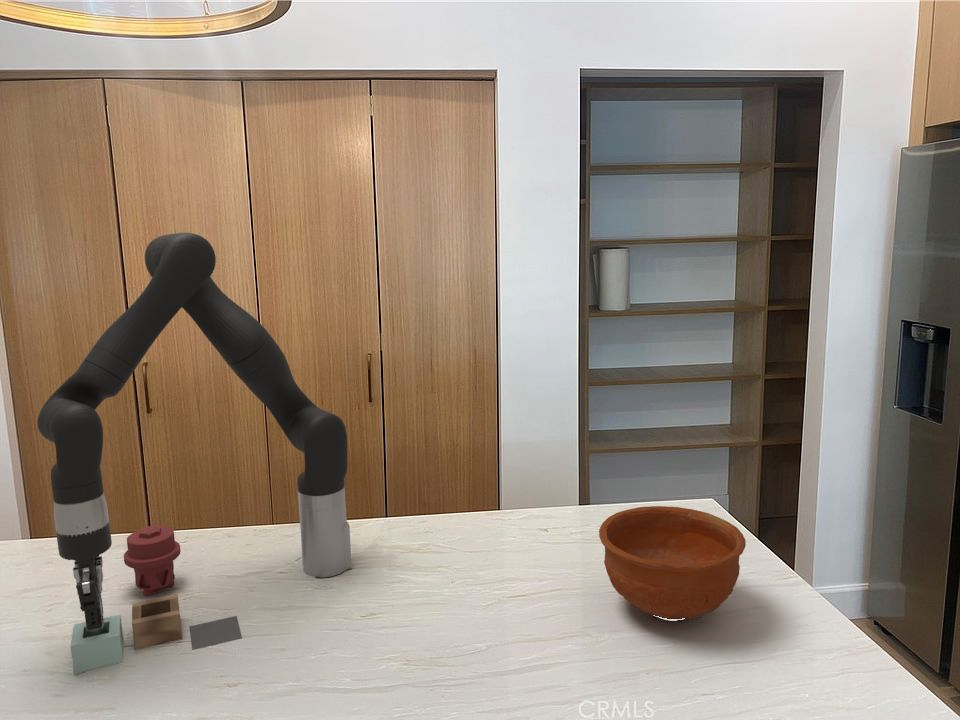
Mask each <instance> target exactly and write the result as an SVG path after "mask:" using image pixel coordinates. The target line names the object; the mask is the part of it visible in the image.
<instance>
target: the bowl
mask: <svg viewBox="0 0 960 720" xmlns="http://www.w3.org/2000/svg"><path fill="white" fill-rule="evenodd" d="M598 536H599V539H600V542H601V544H602V545H603V547H604V560H603V562H604V563H603V564H604V566H605V570H606V574H607V575H608V576H607V577H609V578H608V579H609V581H610V583H611V586H612V587H613V588H614V590H615V591H616V592H617V593H618V594H619V595H620V596H621V597H622V598H624V599H625V601H627V602H628V603H629V604H630V605H632V606H633V607H634V608H637V609H638V610H640V611H642V612H644V613H646V614H649V615H651V616H652V615H655V616H659V617H662V618H667V619H682V618H687V619H694V618H699V617H702V616H704V615H706V614H708V613H712V612H713V611H715V610H716V609H718V608H719V607H721V605H723V603H724V602H725V601H726V600H727V599H728V597H729V596H730V595H732V593H733V591H734V588H735V586H736V583H737V582H738V578H739V576H740V567H741V565H740V556H741V555H742V554H743V553H744V550H745V548H746V545H747V544H746V543H747V541H746V538H745V536H744V534H743V533H742V532H741V531H740V529H739V528H738V527H737V526H735V524H732V523H731V522H729V521H727V520H725V519H723V518H720V517H719V516H716V515H714V514H711V513H708V512H705V511H702V510H697V509H693V508H685V507H677V506H663V505H654V506H650V505H649V506H638V507H634V508H630V509H625V510H621V511H618V512H615V513H614V514H612V515H611V516H609V517H606V519H605V520H603V522H602V523H601V525H600V527H599V529H598ZM687 619H686V620H687Z"/></svg>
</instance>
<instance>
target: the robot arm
mask: <svg viewBox="0 0 960 720" xmlns="http://www.w3.org/2000/svg"><path fill="white" fill-rule="evenodd" d="M215 253H216V252H215V250H214V248H213V246H212V244H211V243H210V241H208V240H207V238H205V237H204V236H201V234H200V235H199V234H197V233H192V232H177V233H170V234H168V233H167V234H163V235H159V236H158V237H155V238H154V239H152V240H151V241H150V242H149V243H148V245H147V247H146V248H145V252H144V264H145V266H146V270H147V272H148V273H149V275H150V277H151V279H150V281H149V283H148V284H147V286H146V287H145V288H144V290H143V291H142V293H140V295H139V296H138V297H137V298H136V300H135V301H134V302H133V303H132V304H131V305H130V306H129V307H128V308H127V309H126V310H125V311H124V312H123V313H122V314H121V315H120V316H119V317H118V318H117V319H116V320H115V321H114V322H113V323H111V325H110V326H109V327H108V328H107V329H106V330H105V331H104V333H102V335H100V337H99V338H98V339H97V341H96V342H95V344H94V345H93V347H91V349H90V350H89V352H88V354H87V355H86V357H84V359H83V360H82V363H80V366H79V367H78V369H77V370H76V371H75V372H74V373H73V374H72V375H71V376H69V378H67V379H66V380H65V381H64V382H63V383H62V384H61V385H60V386H59V387H58V388H57V389H56V390H55V391H54V392H53V393H52V394H51V395H50V396H49V398H48V399H47V400H46V401H45V403H44V405H43V406H42V407H41V409H40V411H39V414H38V415H37V416H38V417H37V422H36V423H37V429H38V432H39V433H40V434H41V435H42V437H43V438H45V439H46V440H48V441H49V442H51V443H54V446H55V447H54V448H55V454H56V455H55V456H56V457H55V458H56V459H55V460H56V462H55V464H53V466H52V468H51V470H50V486H51V491H52V499H53V519H54V520H53V521H54V527H55V534H56V541H57V550H58V554H59V556H60V558H62V559H63V560H64V559H65V560H68V561H74V567H72V573H73V579H75V583H76V586H75V589H76V590H77V591H76V592H77V596H78V599H79V605H80V607H79V608H80V610H81V612H84V611H85V614H84V620H85V619H86V621H85V622H86V626H87V629H88V630H93V629H98V628H101V627H102V617H101V609H100V604H101V603H102V604H103V600H102V599H103V598H102V597H101V601H100V596H99V593H100V592H101V594H102V592H103V582H104V581H103V580H104V573H103V556H102V554H104V553H106V552H107V551H108V550H110V548H111V547H112V543H113V541H112V533H111V527H110V519H109V518H110V517H109V516H110V515H109V511H108V510H109V509H108V504H107V503H108V502H107V499H106V496H105V492H104V485H103V484H104V483H103V477H102V476H103V475H102V470H101V463H102V457H103V445H104V429H103V424H102V420H101V418H100V416H99V413H98V412H97V411H96V410H97V408H98V407H99V406H100V404H101V403H102V402H103V401H105V400H106V399H109V398H113V397H115V396H117V395H118V394H119V393H120V392H121V390H122V389H124V386H125V385H126V383H128V380H129V379H130V377H132V375H133V373H134V372H135V370H136V369H137V367H138V366H139V364H140V362H142V360H143V358H144V357H145V355H146V354H147V352H148V350H149V349H150V348H151V346H152V345H153V344H154V342H156V339H157V338H158V337H159V336H160V335H161V333H162V332H163V330H164V329H165V328H166V327H167V326H168V324H169V323H170V322H171V321H172V319H173V318H174V317H175V316H176V314H177V313H178V312H179V311H181V309H183V310H184V311H185V312H186V313H187V314H188V315H189V317H190V318H191V319H192V320H193V322H194V323H195V324H196V325H197V327H198V328H199V329H200V331H201V332H202V334H203V335H204V336H205V338H206V339H207V340H208V341H209V343H210V344H211V346H213V347H214V349H215V350H216V351H217V352H218V353H219V355H220V356H221V357H222V359H223V360H224V361H225V362H226V364H227V365H228V366H229V367H230V369H231V370H232V371H233V372H234V373H235V375H236V376H237V377H238V378H239V379H240V381H241V382H243V384H244V385H245V386H246V387H247V388H248V389H249V390H250V391H251V393H253V395H254V396H255V397H256V398H258V400H259V401H260V402H261V403H262V404H263V405H264V406H265V408H267V409H268V411H269V412H270V413H271V415H272V417H274V419H275V420H276V422H277V424H278V425H279V427H280V429H281V430H282V432H283V433H284V434H285V437H286V438H287V439H288V441H289V442H290V444H291V445H292V446H293V447H294V448H295V449H297V450H298V451H300V452H302V453H303V454H304V471H303V472H300V474H299V475H298V476H297V478H296V484H297V485H296V486H297V498H298V500H297V501H298V512H299V527H300V528H299V529H300V541H301V554H302V555H301V556H302V557H301V558H302V569H303V572H304V573H305V574H306V575H308V576H309V577H315V578H330V577H335V576H337V575H340V574H341V573H344V572H345V571H347V570H351V569H352V567H353V566H352V565H353V563H352V549H351V546H352V545H351V533H350V532H351V531H350V524H349V522H348V521H347V506H346V490H345V479H346V475H347V472H348V463H349V462H348V461H349V460H348V435H347V433H348V432H347V428H346V425H345V423H344V420H342V419H341V417H340V416H338V415H336V414H334V413H332V412H329V411H327V410H324V409H321V408H320V407H318V406H317V405H316V404H315V403H313V401H312V400H311V399H310V398H309V397H308V396H307V395H306V394H305V393H304V391H302V389H301V388H300V387H299V385H298V384H297V382H296V381H295V378H294V377H293V373H292V372H291V371H292V370H291V368H290V366H289V363H288V360H287V357H286V356H285V354H284V352H283V351H282V349H281V348H280V346H279V344H278V343H277V341H275V339H274V337H272V335H271V334H270V333H269V332H268V330H267V329H266V328H265V327H264V326H263V325H262V324H261V323H260V322H259V321H258V320H257V319H256V318H255V317H254V316H253V315H252V314H250V313H249V312H248V311H246V310H245V309H244V308H243V307H241V306H240V305H239V304H237V303H236V302H235V301H233V300H232V299H231V298H230V297H229V296H228V295H227V294H225V293H224V291H223V290H221V289H220V288H219V286H218V285H217V284H216V282H215V281H214V280H213V278H212V277H211V276H212V274H213V273H214V270H215V268H216V262H217V257H216V254H215ZM89 600H91V601H89ZM102 610H103V611H104V607H103V605H102Z"/></svg>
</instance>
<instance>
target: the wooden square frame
mask: <svg viewBox="0 0 960 720" xmlns="http://www.w3.org/2000/svg"><path fill="white" fill-rule="evenodd" d="M180 612H181V611H180V603H179V594H177V593H176V594H171V595H166V596H162V597H157V598H153V599H147V600H142V601H137V602H133V603H132V604H131V627H132V629H131V630H132V637H133V643H134V644H133V645H134V650H135V651H137V650H141V649H145V648H150V647H154V646H158V645H164V644H167V643H168V644H169V643H171V642H176V641H180V640H183V632H182V622H181V613H180Z"/></svg>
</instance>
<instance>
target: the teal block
mask: <svg viewBox="0 0 960 720" xmlns="http://www.w3.org/2000/svg"><path fill="white" fill-rule="evenodd" d="M103 618H104V626H105V634H101V635H96V636H91V637H88V636H87V629H86V621H84V622H79V623H74V624H73V627H72V632H71V633H72V634H71V640H70V645H69V647H70V652H71V654H70V655H71V659H72V668H73V675H79V674H83V673H85V672H86V671H89V670H93V669H98V668H101V667H106V666H111V665H114V664H119V663H122V662H124V643H125V642H124V634H123V624H122V616H121V614H117V615H112V616H107V617H103Z"/></svg>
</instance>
